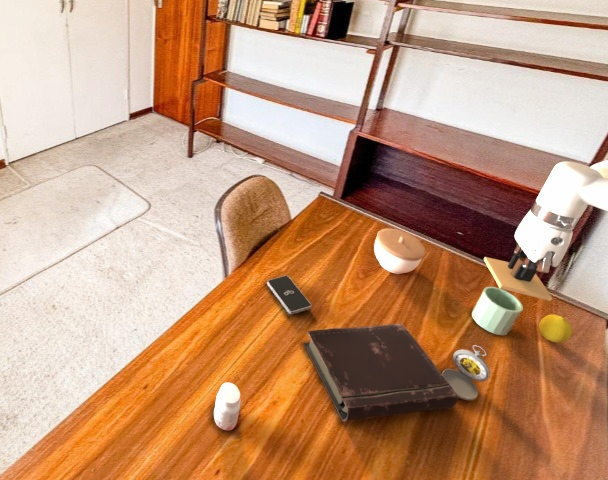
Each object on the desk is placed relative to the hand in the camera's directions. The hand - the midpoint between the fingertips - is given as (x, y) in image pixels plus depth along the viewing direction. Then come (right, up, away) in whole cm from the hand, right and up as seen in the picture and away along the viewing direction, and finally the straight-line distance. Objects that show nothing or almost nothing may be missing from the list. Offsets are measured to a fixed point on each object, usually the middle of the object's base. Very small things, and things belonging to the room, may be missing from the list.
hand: (518, 273), depth 96 cm
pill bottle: (-75, -24, -16) cm, 80 cm away
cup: (-1, -16, +8) cm, 17 cm away
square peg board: (0, -2, +1) cm, 2 cm away
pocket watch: (-20, -22, -7) cm, 31 cm away
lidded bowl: (-16, -7, +25) cm, 30 cm away
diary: (-40, -21, -6) cm, 45 cm away
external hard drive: (-53, -12, +12) cm, 55 cm away
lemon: (+11, -18, +4) cm, 21 cm away
